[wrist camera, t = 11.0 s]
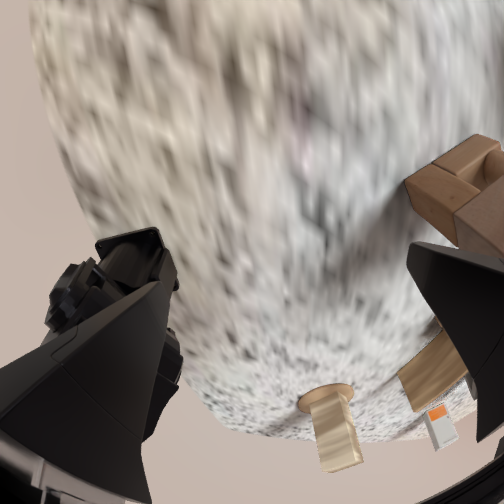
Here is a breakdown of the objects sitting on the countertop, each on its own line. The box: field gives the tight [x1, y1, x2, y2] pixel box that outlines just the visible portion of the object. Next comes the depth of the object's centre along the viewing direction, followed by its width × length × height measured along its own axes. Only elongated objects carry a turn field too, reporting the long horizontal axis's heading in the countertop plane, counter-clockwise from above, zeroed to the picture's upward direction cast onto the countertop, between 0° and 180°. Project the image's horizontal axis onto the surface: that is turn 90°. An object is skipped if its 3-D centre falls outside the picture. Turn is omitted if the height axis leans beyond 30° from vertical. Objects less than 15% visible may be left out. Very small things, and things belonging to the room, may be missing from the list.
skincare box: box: [423, 403, 459, 451], centre depth 46 cm, size 6×4×12 cm
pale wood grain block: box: [309, 391, 364, 473], centre depth 33 cm, size 4×5×12 cm
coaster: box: [298, 383, 354, 414], centre depth 38 cm, size 9×9×1 cm
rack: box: [397, 329, 468, 412], centre depth 29 cm, size 6×17×8 cm, turn 150°
